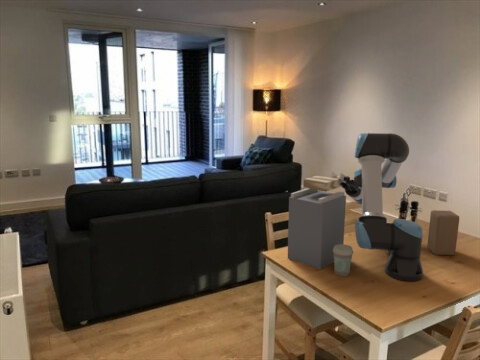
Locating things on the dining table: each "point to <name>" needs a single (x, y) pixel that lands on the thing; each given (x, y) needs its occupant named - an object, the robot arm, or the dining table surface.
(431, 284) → the dining table surface
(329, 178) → the oak board
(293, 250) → the charcoal plinth
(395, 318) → the dining table surface
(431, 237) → the wooden block
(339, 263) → the coffee cup
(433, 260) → the dining table surface
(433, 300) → the dining table surface
